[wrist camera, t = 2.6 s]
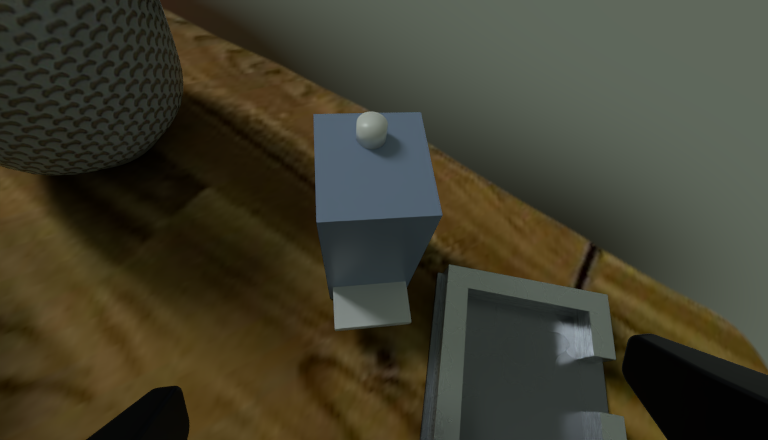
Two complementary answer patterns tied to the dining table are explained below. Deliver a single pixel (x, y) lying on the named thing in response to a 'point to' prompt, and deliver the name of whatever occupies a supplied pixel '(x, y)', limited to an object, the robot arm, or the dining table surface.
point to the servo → (373, 212)
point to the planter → (84, 83)
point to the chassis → (517, 361)
